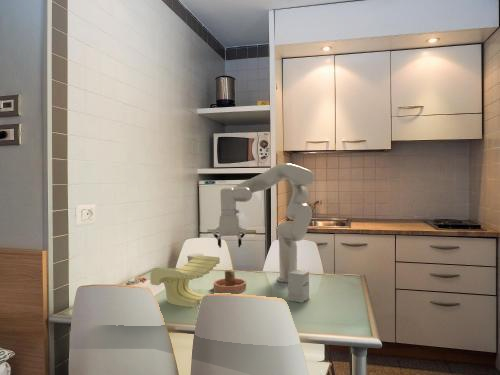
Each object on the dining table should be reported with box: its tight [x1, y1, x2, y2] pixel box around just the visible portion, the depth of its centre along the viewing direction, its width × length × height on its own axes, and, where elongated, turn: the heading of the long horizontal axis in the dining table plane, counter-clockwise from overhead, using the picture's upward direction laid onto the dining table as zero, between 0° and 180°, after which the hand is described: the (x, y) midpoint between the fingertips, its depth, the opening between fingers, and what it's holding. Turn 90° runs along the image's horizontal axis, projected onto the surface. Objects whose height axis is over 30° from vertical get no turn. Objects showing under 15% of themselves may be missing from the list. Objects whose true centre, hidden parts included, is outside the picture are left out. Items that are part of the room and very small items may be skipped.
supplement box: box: [287, 269, 310, 303], centre depth 182 cm, size 7×7×13 cm
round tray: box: [213, 277, 247, 294], centre depth 201 cm, size 16×16×4 cm
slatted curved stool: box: [149, 255, 221, 308], centre depth 184 cm, size 30×16×18 cm, turn 150°
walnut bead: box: [224, 269, 236, 286], centre depth 201 cm, size 5×5×8 cm
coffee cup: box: [187, 253, 204, 278], centre depth 229 cm, size 9×9×12 cm
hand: (229, 247), depth 200 cm, fingers open, 9 cm apart
